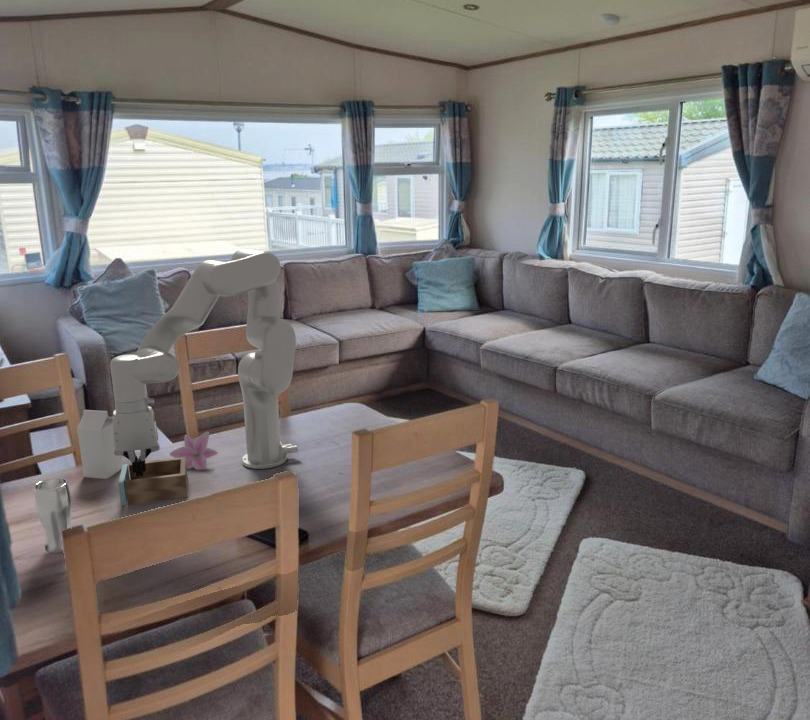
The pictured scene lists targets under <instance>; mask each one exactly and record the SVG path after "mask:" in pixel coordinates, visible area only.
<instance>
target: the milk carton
mask: <svg viewBox="0 0 810 720" xmlns="http://www.w3.org/2000/svg"><path fill="white" fill-rule="evenodd" d="M82 412H83V414H82V416H81V419H80V421H79V422H78V426H77V427H76V430H77V431H76V432H77V437H78V443H79V444H78V445H79V451H80V457H81V465H82V472H83V477H84V478H91V479H103V480H107V479H110V478H111V477H112V476H114V475H116V474H117V473H118V472H121V470H122V466H123V460H122V456H117V455H114V450H115V448H114V442H113V417H112V416H110V415H109V414H108V411H107V410H91V409H83V411H82Z"/></svg>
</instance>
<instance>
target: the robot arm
mask: <svg viewBox="0 0 810 720" xmlns="http://www.w3.org/2000/svg"><path fill="white" fill-rule="evenodd" d="M281 268H282V266H281V262H280V259H278V257H277V256H276V255H275V254H273V253H272V252H269V251H265V250H260V249H252V248H241V249H238V250H236V251H234V253H233V254H232V256H231V260H230V261H221V260H213V259H208V260H206V259H205V260H204V261H201V262H200V263H199V264H198V265H197V266H196V268H194V270H193V272H192V274H191V276H190V277H189V279H188V281H187V282H186V284H185V285H184V287H183V289H182V291H181V292H180V294H179V295H178V297H177V299H176V300H175V302H174V304H173V305H172V307H171V308H170V309H169V310H168V311H167V312H166V313H164V315H163V316H161V317H160V318H159V320H156V321H157V322H155V323H154V324H153V325H152V326H151V327H150V329H149V331H148V332H147V333H146V335H145V337H144V338H143V340H142V341H141V342H140V344H139V347H138V348H137V350H136V352H135V354H122V355H118V356H115V357H113V358H112V359H111V360H110V362H109V363H110V364H109V366H110V368H109V369H110V375H111V385H112V390H113V398H114V405H115V409H114V410H113V413H112V418H113V442H114V448H115V450H114V455H117V456H121V457H124V458H126V459H127V460H129V461H130V463H132V468H133V473H135V472H136V477H139V475H140V476H143V473H144V471H146V464H145V462H146V459H147V457H148V456H149V455H150V454H151V453H155V452H157V451H160V449H161V446H160V444H159V435H158V427H157V422H156V418H155V414H154V413H155V412H154V410H153V408H152V406H150V405H154V404H155V400H154V399H155V398H151V397H148V391H147V384H159V383H160V384H161V383H168V382H170V381H172V380H174V379H175V378H176V377H177V376H178V374H179V372H180V362H179V360H178V359H177V357H175V356H174V355H173V354H172V353H170V350H171V348H172V347H174V344H175V343H176V342H177V341H178V340H179V339H180V338H181V337H183V336H184V335H185V334H186V333H189V332H191V331H193V330H196V329H198V328H200V327H201V326H203V324H205V321H206V320H207V318H208V316H209V315H210V312H212V310H213V308H214V306H215V304H216V303H217V301H218V299H219V298H220V297H225V298H226V297H232V296H237V295H241V294H243V293H247V295H248V296H247V297H248V305H247V307H248V309H247V317H246V325H245V326H246V327H245V337H246V340H247V342H248V343H249V344H250V345H251V346H253V347H254V348H257V349H260V350H262V352H258V351H257V352H255V351H254V352H249V353H246V354H245V355H244V356H243V357H242V358H241V359H240V361H239V363H238V366H237V377H238V382H239V385H240V389H241V395H242V402H243V404H242V405H243V417H244V431H245V441H246V443H245V444H246V453H245V454H244V455H242V457H241V463H242V465H243V466H245V467H247V468H250V469H254V470H255V469H256V470H257V469H258V470H263V469H264V470H265V469H272V468H274V467H275V468H276V467H279V466H281V465H283V464H285V462H286V461H287V458H288V455H287V454H289V453H291V454H293V453H299V451H298V446H297V445H292V443H288V444H285V443H282V441H281V430H280V417H279V416H280V413H279V400H278V398H279V397H278V395H280V394H281V393H283V392H285V391H287V389H288V387H289V386H290V384H291V381H292V379H293V373H294V364H295V354H296V347H297V346H296V344H297V343H296V342H297V338H296V332H295V330H294V327H293V325H292V324H291V323H290V322H288V320H285V319H283V318H281V317H280V316H281V315H280V314H281V313H280V312H281V291H280V286H279V283H278V280H277V279H278V277H279V276H280V273H281ZM136 451H140V453H139V454H140V455H139V457H138V455H136Z"/></svg>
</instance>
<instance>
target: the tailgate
mask: <svg viewBox="0 0 810 720" xmlns="http://www.w3.org/2000/svg"><path fill="white" fill-rule="evenodd" d="M125 480H130V472H129V463H126V464H124V463H122V469H121V470H120V475H119V479H118V483H117V484H118V491H119V497H120V504H121V505H120V506H121V507H122V506H128V502H127V494H126V486H125Z"/></svg>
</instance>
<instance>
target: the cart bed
mask: <svg viewBox="0 0 810 720" xmlns="http://www.w3.org/2000/svg"><path fill="white" fill-rule="evenodd" d="M145 464H146V471H144V473H143V476H140V475H139V477H136V472H135V473H133V468H132V462H129V463H128V469H129V477H130V480H125V486H126V494H127V506H130V505H131V506H132V505H139V504H140V505H141V504H146V503H153V502H155V503H156V502H163V501H169V500H175V499H177V500H178V499H184V498H188V497H189V496H188V494H189V491H188V488H189V487H188V486H189V484H188V483H189V479H188V478H189V477H188V468H187V466H186V457H180V458H174V457H172V458H166V459H165V458H163V459H156V460H149V461H145Z"/></svg>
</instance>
